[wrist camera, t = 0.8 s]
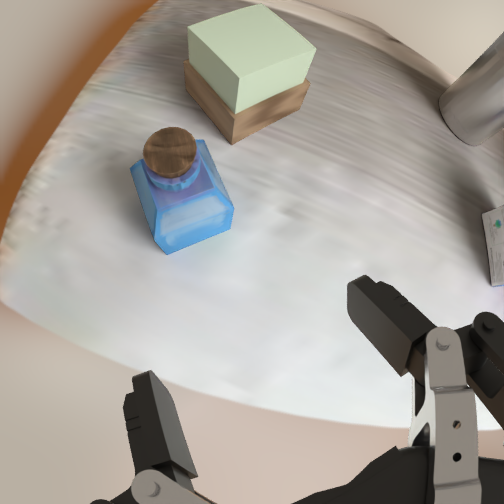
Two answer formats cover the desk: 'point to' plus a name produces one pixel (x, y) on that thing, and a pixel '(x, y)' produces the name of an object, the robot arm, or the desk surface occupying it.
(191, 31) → the tower top block
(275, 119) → the tower base block
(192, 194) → the perfume bottle
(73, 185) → the desk surface
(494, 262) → the ink cartridge box
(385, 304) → the robot arm
